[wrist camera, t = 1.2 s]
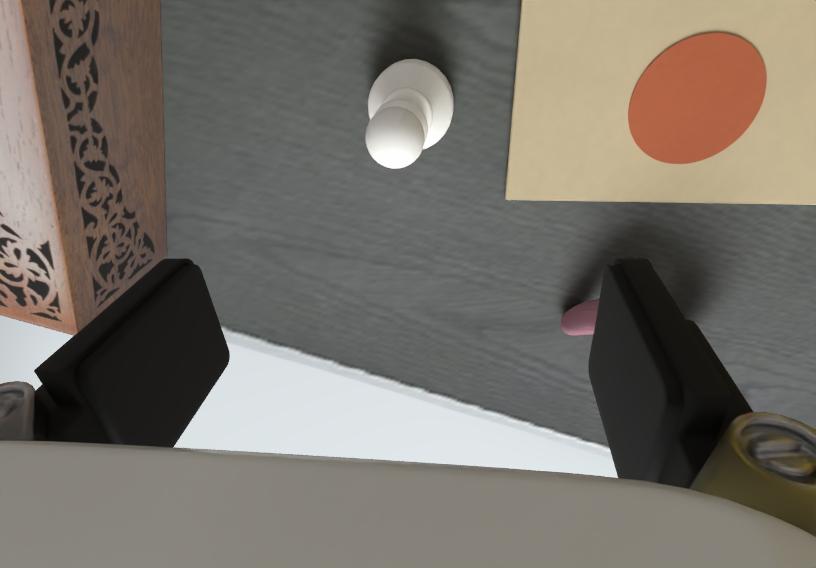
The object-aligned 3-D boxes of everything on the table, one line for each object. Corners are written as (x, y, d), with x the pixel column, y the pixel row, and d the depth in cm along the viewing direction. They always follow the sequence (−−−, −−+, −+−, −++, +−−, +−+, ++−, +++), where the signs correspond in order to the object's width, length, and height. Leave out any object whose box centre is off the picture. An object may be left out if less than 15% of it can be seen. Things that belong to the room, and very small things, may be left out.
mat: (522, -17, 25) (523, -18, 24) (949, -33, 23) (960, -34, 22) (505, 197, 31) (505, 200, 31) (835, 202, 29) (841, 205, 29)
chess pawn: (435, 156, 30) (423, 213, 23) (362, 126, 30) (324, 175, 22) (467, 77, 28) (464, 113, 20) (387, 44, 27) (353, 68, 20)
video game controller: (676, 337, 37) (751, 369, 31) (643, 385, 38) (710, 426, 31) (584, 272, 35) (642, 290, 29) (549, 323, 36) (599, 352, 29)
